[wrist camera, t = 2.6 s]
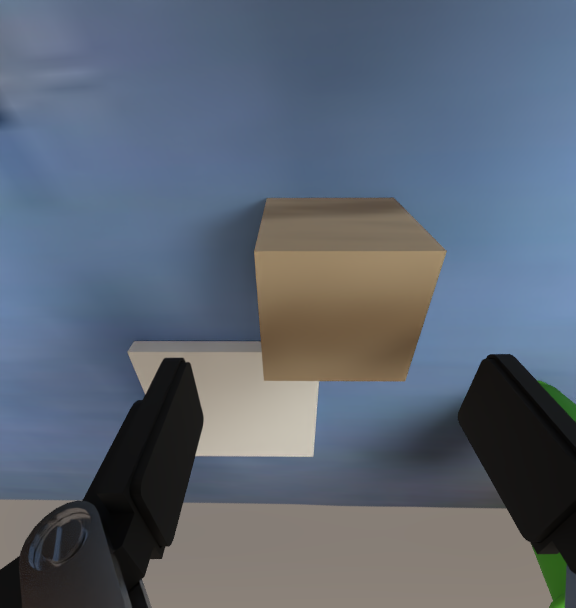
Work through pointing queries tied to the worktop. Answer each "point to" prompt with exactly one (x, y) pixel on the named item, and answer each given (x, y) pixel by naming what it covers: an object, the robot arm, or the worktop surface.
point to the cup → (554, 563)
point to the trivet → (238, 398)
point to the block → (342, 288)
